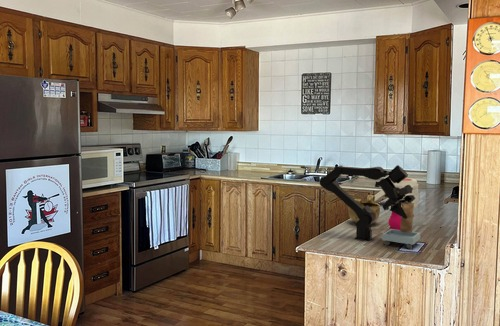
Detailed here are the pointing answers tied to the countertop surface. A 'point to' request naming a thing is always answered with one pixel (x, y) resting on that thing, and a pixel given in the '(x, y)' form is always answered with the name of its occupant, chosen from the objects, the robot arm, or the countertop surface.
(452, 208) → the countertop surface
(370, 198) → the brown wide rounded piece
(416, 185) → the cream watering can
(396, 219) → the pepper mill
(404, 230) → the walnut post
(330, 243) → the countertop surface
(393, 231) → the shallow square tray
